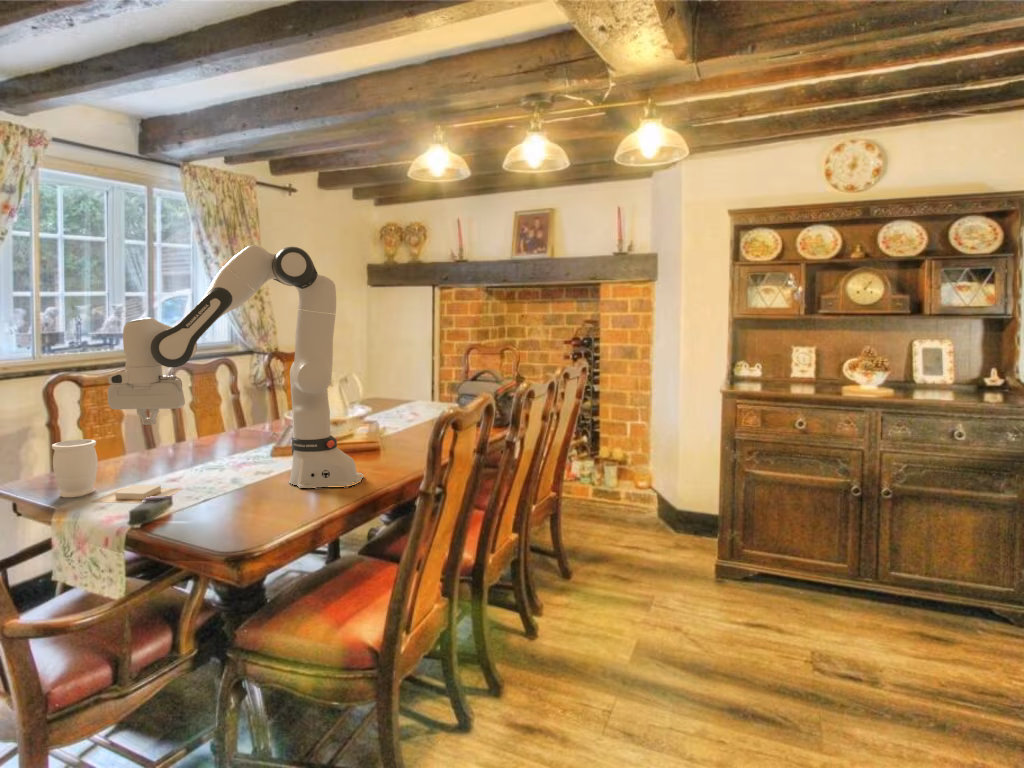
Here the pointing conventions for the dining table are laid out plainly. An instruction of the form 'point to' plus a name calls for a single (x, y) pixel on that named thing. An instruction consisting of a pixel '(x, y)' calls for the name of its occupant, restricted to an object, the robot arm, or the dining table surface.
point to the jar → (75, 467)
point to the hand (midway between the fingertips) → (149, 424)
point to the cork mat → (112, 499)
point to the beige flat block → (138, 492)
